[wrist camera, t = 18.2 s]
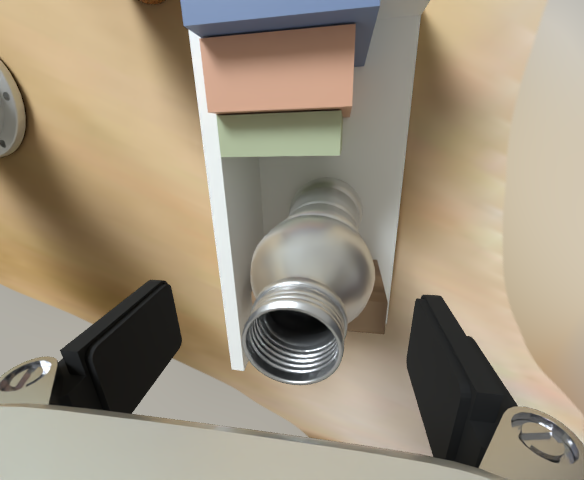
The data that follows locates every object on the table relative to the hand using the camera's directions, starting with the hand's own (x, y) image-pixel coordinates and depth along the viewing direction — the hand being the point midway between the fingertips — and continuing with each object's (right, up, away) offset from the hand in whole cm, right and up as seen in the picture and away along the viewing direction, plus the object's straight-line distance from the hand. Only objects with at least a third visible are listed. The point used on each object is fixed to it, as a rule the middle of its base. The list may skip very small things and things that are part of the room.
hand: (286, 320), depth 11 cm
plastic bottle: (+4, +7, +18) cm, 19 cm away
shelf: (+3, +8, +18) cm, 20 cm away
